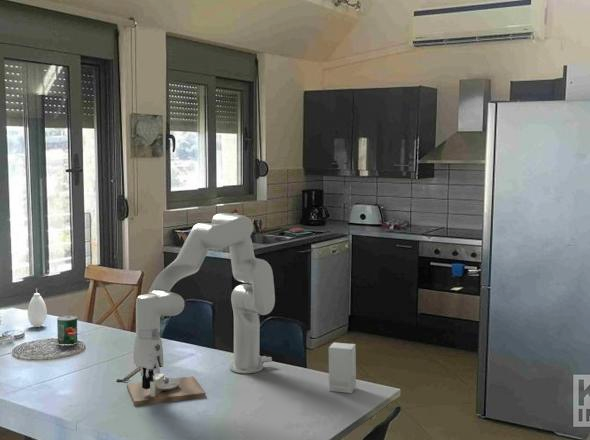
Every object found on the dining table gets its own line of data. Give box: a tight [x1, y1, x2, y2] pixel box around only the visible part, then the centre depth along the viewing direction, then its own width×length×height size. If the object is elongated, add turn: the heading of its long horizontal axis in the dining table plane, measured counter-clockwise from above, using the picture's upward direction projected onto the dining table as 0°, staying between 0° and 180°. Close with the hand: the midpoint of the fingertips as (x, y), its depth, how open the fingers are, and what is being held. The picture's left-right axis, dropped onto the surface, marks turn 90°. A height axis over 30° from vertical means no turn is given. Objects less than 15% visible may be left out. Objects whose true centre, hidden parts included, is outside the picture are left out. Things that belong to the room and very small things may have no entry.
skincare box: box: [328, 342, 357, 394], centre depth 233 cm, size 8×7×16 cm
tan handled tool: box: [116, 367, 140, 384], centre depth 248 cm, size 21×7×1 cm, turn 166°
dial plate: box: [126, 375, 206, 407], centre depth 229 cm, size 23×17×2 cm
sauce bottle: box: [27, 287, 48, 328], centre depth 307 cm, size 8×8×18 cm
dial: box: [150, 373, 179, 397], centre depth 226 cm, size 14×9×5 cm, turn 167°
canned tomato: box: [56, 314, 79, 344], centre depth 282 cm, size 8×8×11 cm
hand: (147, 387), depth 223 cm, fingers closed
